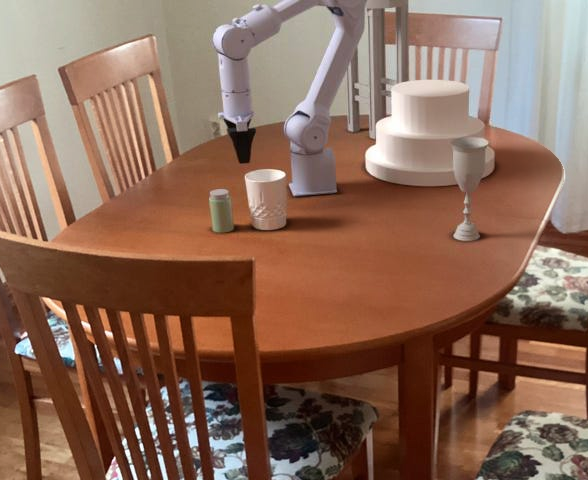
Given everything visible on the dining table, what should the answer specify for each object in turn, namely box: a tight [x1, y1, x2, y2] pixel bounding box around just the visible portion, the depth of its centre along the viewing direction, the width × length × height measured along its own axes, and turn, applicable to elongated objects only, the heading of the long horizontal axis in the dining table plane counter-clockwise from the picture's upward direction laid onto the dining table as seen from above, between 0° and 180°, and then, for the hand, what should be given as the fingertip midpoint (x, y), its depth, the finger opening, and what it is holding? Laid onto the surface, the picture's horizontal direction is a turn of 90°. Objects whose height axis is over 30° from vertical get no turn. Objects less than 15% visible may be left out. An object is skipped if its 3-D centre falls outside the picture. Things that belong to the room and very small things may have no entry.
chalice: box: [451, 137, 490, 242], centre depth 172 cm, size 7×7×18 cm
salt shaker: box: [208, 188, 235, 234], centre depth 179 cm, size 4×4×8 cm
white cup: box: [244, 168, 287, 231], centre depth 180 cm, size 8×8×10 cm
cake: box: [364, 79, 496, 187], centre depth 210 cm, size 30×30×18 cm
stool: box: [345, 0, 410, 140], centre depth 232 cm, size 16×16×35 cm
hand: (242, 157), depth 190 cm, fingers open, 7 cm apart
